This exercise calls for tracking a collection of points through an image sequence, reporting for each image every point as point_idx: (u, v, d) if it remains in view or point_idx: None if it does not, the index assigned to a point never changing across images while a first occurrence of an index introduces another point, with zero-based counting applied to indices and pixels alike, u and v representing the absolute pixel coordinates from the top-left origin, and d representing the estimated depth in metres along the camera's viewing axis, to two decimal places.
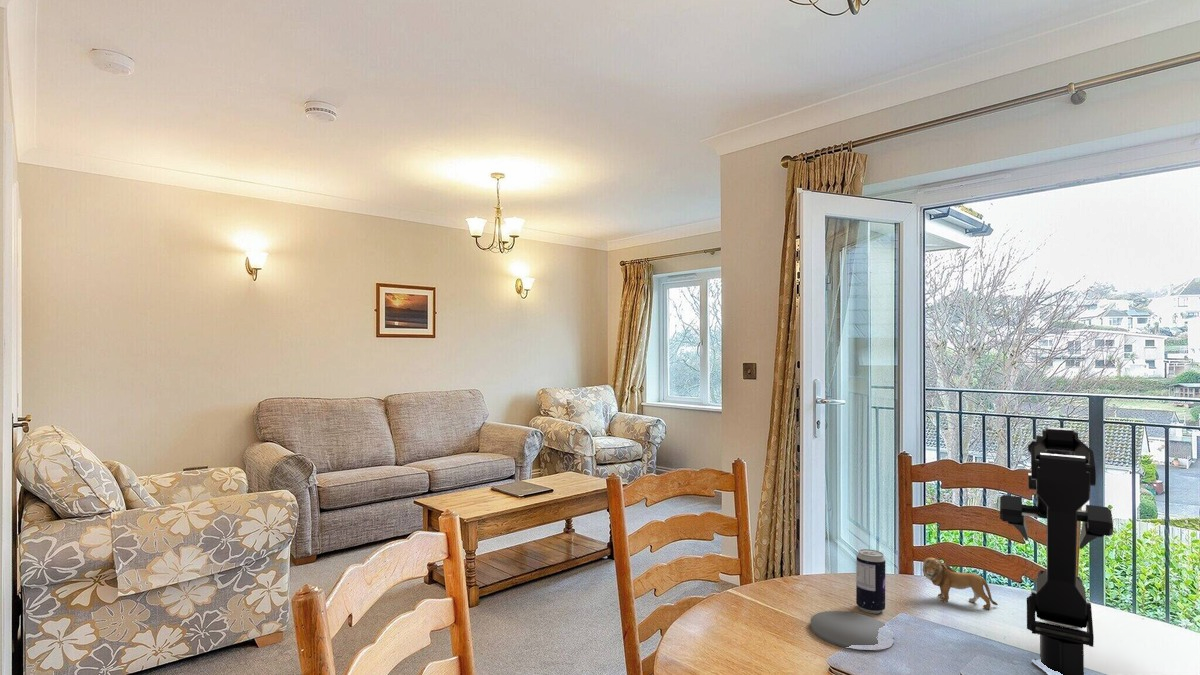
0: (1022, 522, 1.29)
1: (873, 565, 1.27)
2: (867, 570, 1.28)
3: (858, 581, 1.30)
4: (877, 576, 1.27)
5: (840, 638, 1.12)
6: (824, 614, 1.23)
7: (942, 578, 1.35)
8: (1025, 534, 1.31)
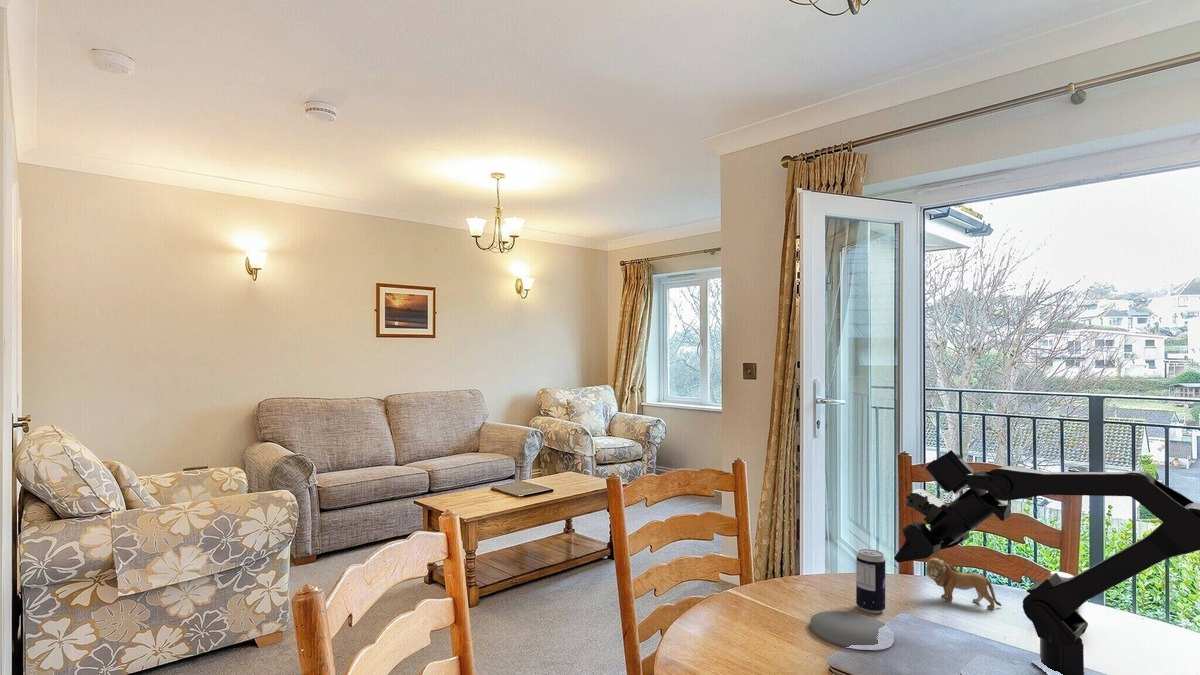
0: None
1: (873, 565, 1.27)
2: (867, 570, 1.28)
3: (858, 581, 1.30)
4: (877, 576, 1.27)
5: (840, 638, 1.12)
6: (824, 614, 1.23)
7: (946, 578, 1.35)
8: (911, 559, 1.19)
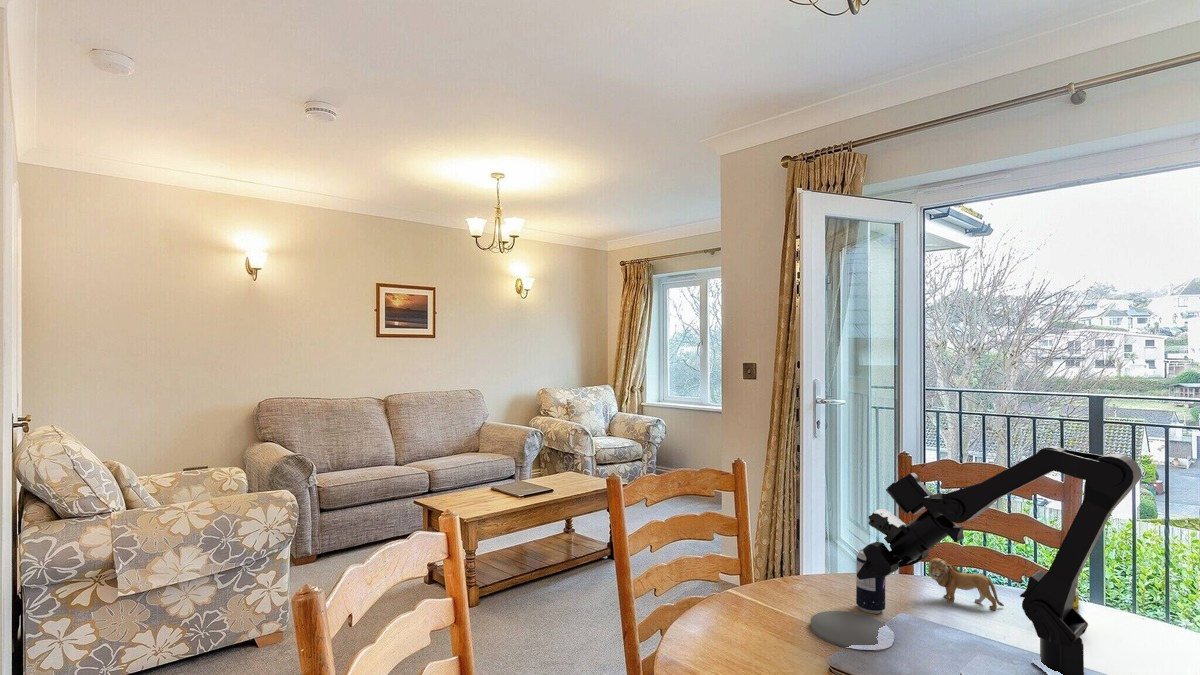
0: None
1: None
2: None
3: (858, 581, 1.30)
4: None
5: (840, 638, 1.12)
6: (824, 614, 1.23)
7: (948, 579, 1.35)
8: None
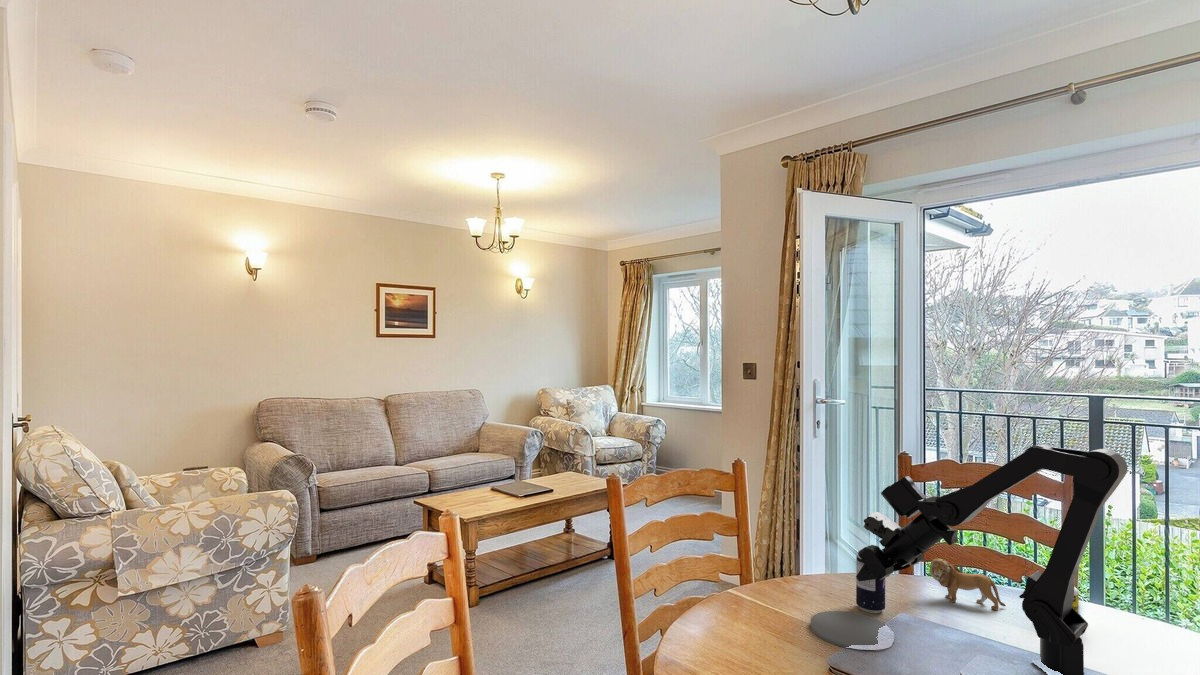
0: None
1: None
2: None
3: (858, 581, 1.30)
4: None
5: (840, 638, 1.12)
6: (824, 614, 1.23)
7: (950, 579, 1.35)
8: None
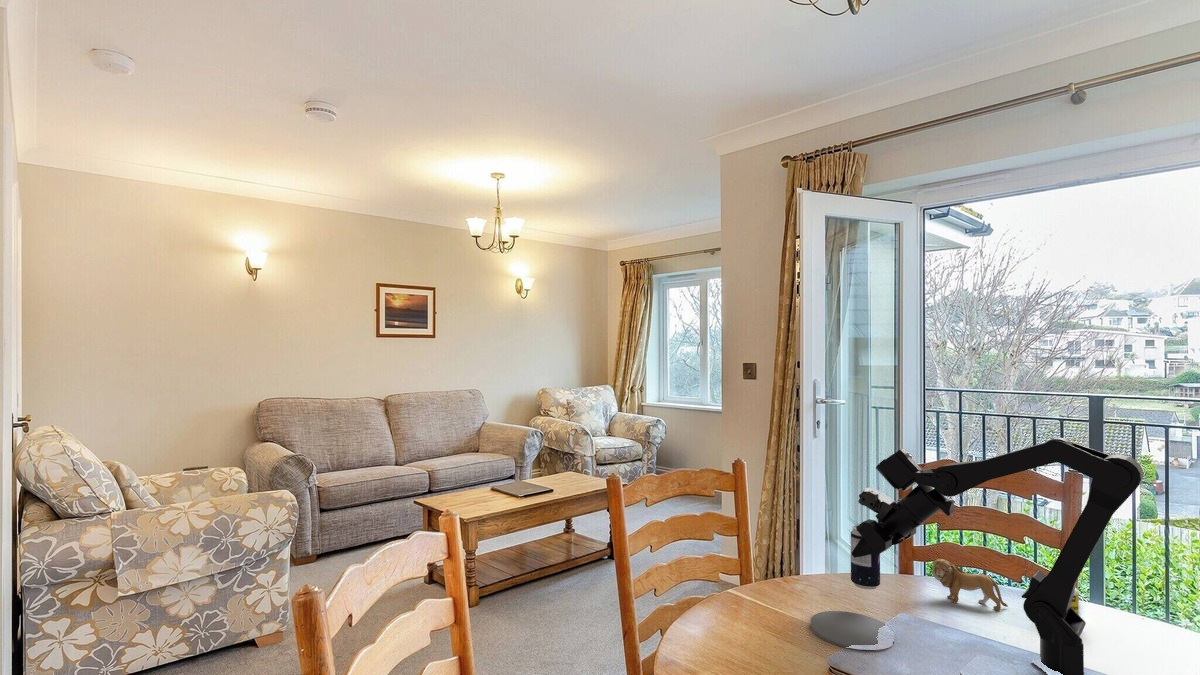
0: None
1: None
2: None
3: (853, 558, 1.27)
4: None
5: (840, 638, 1.12)
6: (824, 614, 1.23)
7: (952, 579, 1.35)
8: (867, 554, 1.25)
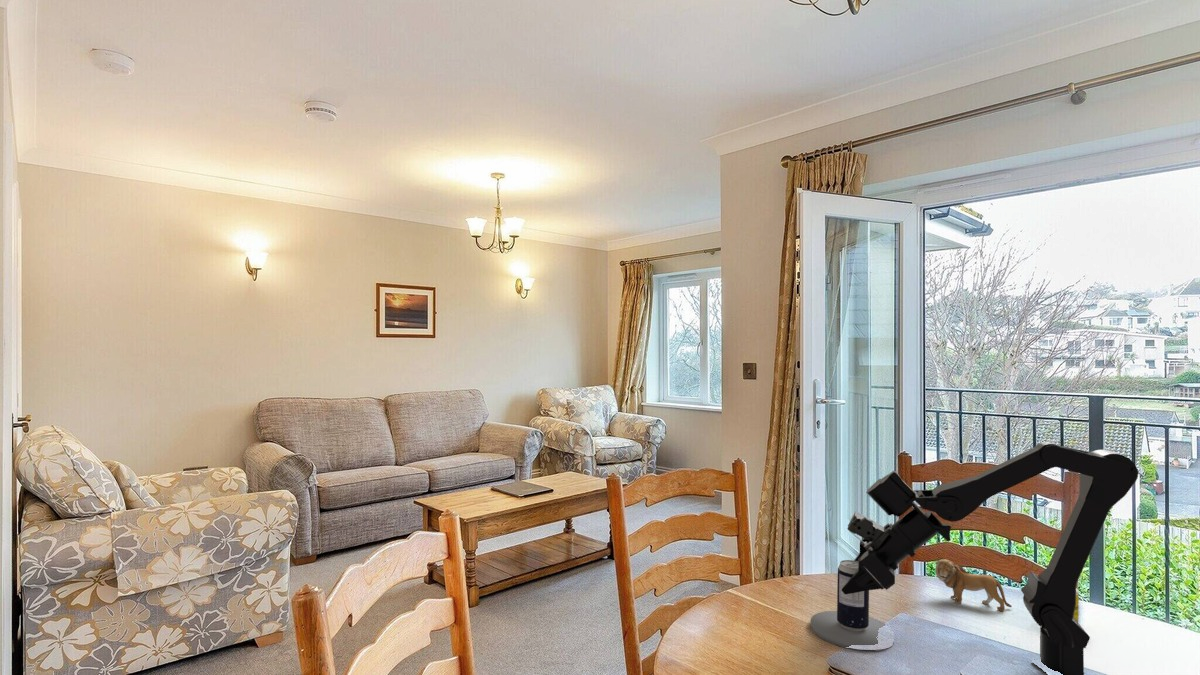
0: None
1: None
2: None
3: (843, 598, 1.16)
4: None
5: (840, 638, 1.12)
6: (824, 614, 1.23)
7: (956, 580, 1.35)
8: None
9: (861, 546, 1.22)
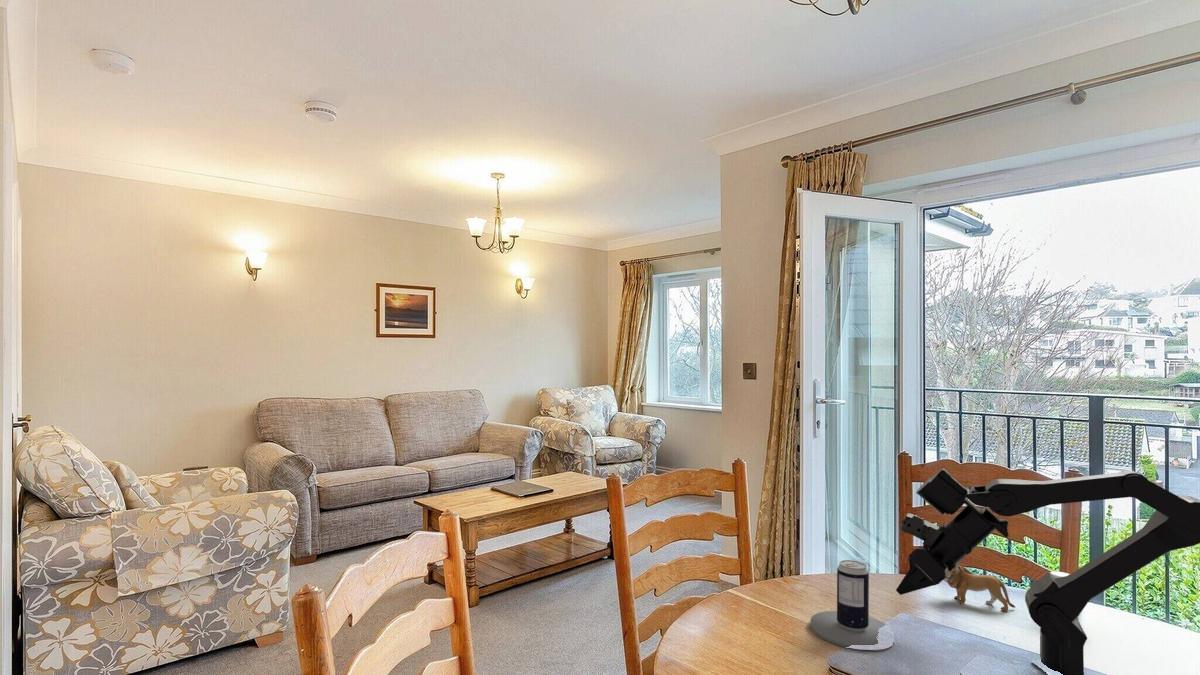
0: None
1: (861, 578, 1.15)
2: (855, 584, 1.15)
3: (843, 598, 1.16)
4: (865, 590, 1.16)
5: (840, 638, 1.12)
6: (824, 614, 1.23)
7: (959, 580, 1.34)
8: (916, 589, 1.11)
9: None
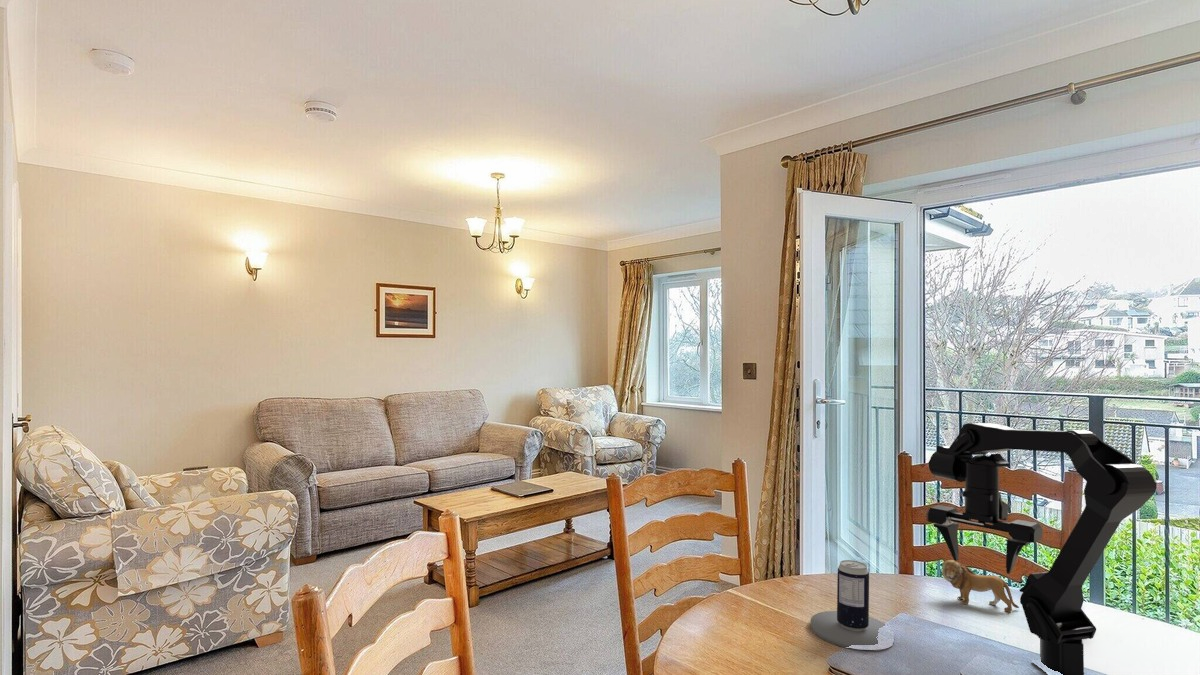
0: (947, 526, 1.22)
1: (862, 578, 1.15)
2: (856, 584, 1.15)
3: (843, 598, 1.16)
4: (865, 590, 1.16)
5: (840, 638, 1.12)
6: (824, 614, 1.23)
7: (962, 580, 1.34)
8: (951, 547, 1.22)
9: None
